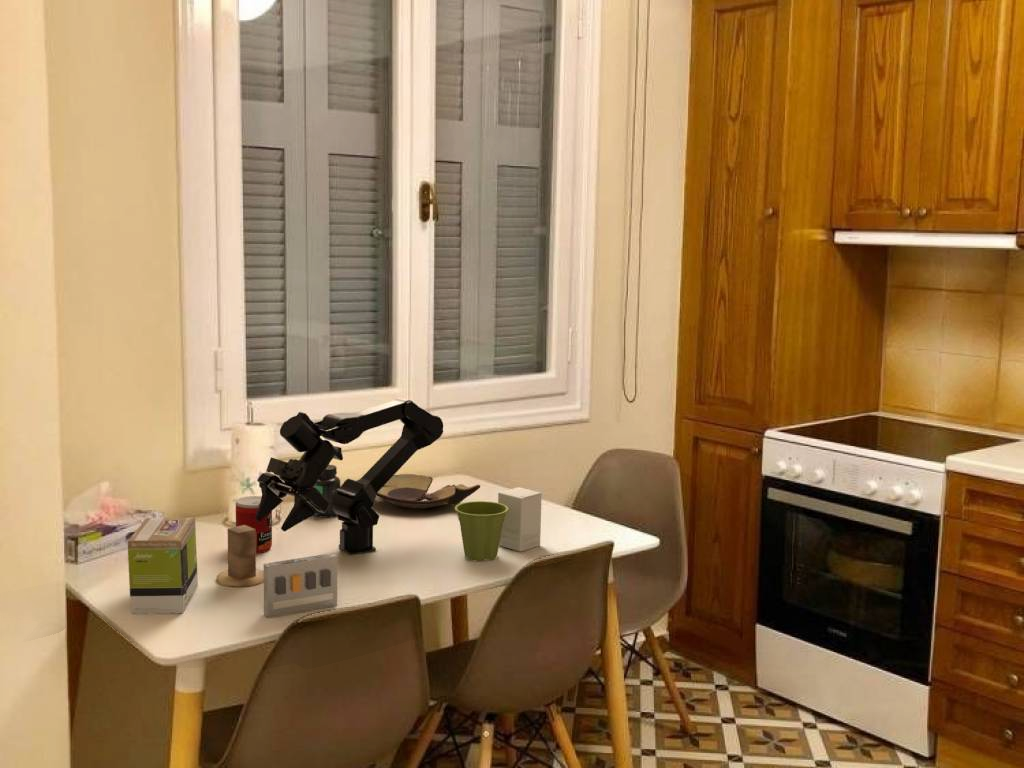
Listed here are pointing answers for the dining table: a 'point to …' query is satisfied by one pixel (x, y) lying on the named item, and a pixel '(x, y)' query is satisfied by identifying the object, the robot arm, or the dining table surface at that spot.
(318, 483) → the supplement bottle
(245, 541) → the walnut block
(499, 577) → the dining table surface
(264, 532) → the canned food
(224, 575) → the coaster
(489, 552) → the plant pot
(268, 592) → the breaker panel
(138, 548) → the tea box
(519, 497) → the supplement box
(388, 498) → the broken bowl
